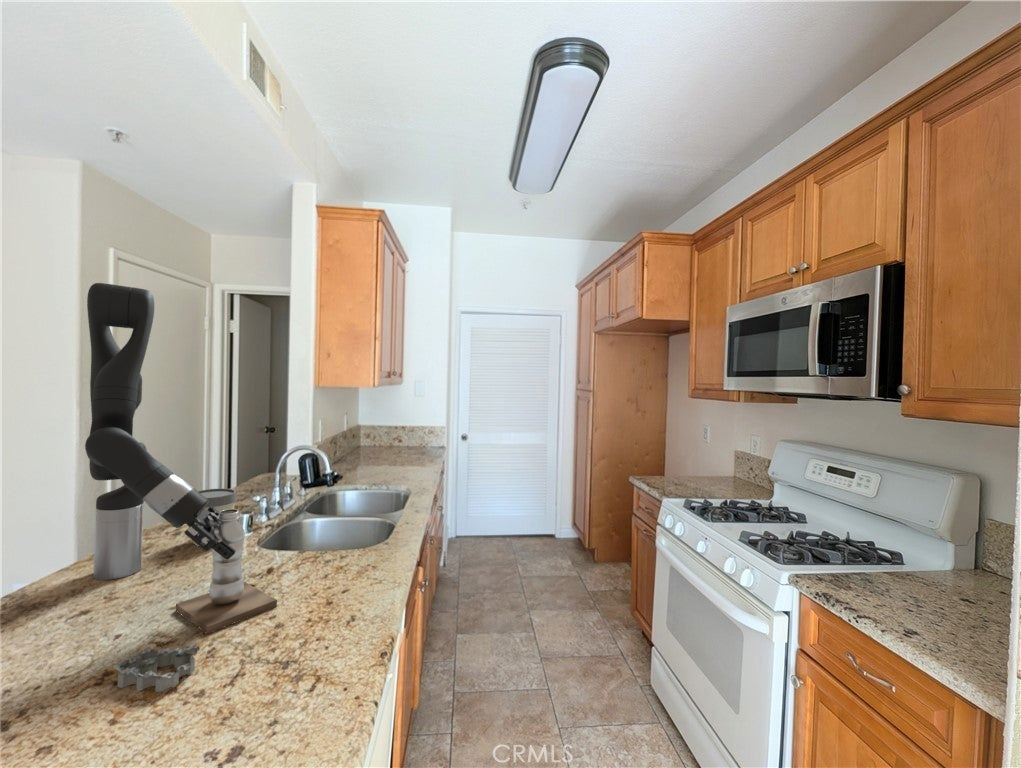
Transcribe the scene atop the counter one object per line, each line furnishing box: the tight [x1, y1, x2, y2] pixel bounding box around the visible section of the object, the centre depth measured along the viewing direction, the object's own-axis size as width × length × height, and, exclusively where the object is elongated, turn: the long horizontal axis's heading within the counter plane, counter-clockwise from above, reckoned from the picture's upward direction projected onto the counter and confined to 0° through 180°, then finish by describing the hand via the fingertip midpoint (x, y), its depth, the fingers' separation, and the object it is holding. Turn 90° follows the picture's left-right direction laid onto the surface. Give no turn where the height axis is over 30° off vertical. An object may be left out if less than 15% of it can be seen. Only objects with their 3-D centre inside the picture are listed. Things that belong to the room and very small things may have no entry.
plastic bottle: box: [208, 508, 246, 604], centre depth 99 cm, size 6×7×20 cm
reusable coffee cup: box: [192, 487, 237, 547], centre depth 137 cm, size 13×13×15 cm
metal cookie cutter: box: [112, 645, 201, 693], centre depth 76 cm, size 11×8×4 cm
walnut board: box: [175, 580, 278, 634], centre depth 98 cm, size 15×14×2 cm
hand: (236, 548), depth 99 cm, fingers open, 8 cm apart
